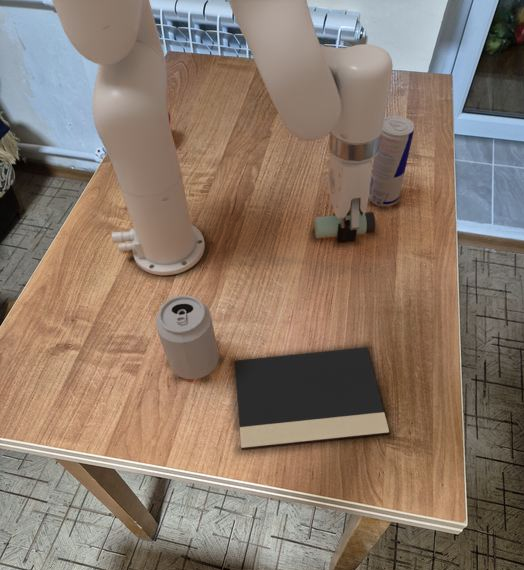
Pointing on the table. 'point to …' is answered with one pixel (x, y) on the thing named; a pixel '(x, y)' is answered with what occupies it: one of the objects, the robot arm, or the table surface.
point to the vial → (330, 223)
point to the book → (308, 398)
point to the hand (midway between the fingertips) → (343, 231)
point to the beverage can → (391, 160)
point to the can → (187, 336)
